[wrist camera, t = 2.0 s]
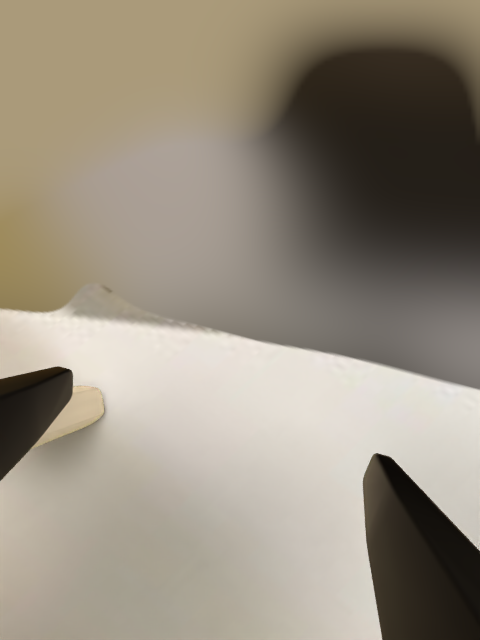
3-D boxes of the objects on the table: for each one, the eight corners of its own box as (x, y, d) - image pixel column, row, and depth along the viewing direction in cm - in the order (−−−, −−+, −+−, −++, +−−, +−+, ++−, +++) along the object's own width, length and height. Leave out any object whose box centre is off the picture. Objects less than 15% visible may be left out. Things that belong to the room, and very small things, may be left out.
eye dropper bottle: (49, 372, 26) (-130, 388, 14) (112, 391, 26) (-21, 424, 14) (33, 425, 26) (-165, 485, 14) (96, 445, 25) (-55, 527, 13)
